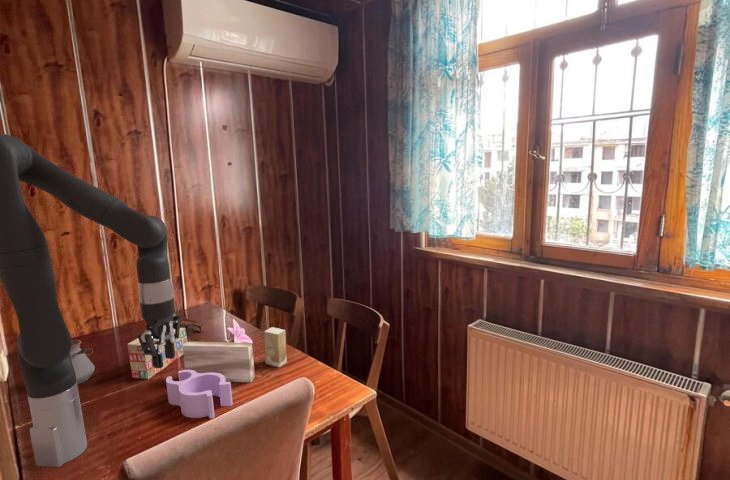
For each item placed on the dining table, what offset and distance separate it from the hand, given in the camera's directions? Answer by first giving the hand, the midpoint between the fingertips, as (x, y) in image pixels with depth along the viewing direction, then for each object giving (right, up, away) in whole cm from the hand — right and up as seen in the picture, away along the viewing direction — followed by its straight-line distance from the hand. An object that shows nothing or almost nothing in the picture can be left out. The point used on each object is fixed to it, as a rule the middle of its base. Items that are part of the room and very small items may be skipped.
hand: (164, 362), depth 101 cm
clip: (+2, -17, +16) cm, 24 cm away
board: (+4, -14, +29) cm, 33 cm away
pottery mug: (-22, -9, +65) cm, 70 cm away
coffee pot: (-41, -16, +28) cm, 52 cm away
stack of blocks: (-21, -13, +41) cm, 48 cm away
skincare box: (+20, -12, +39) cm, 45 cm away
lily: (+2, -11, +53) cm, 54 cm away
